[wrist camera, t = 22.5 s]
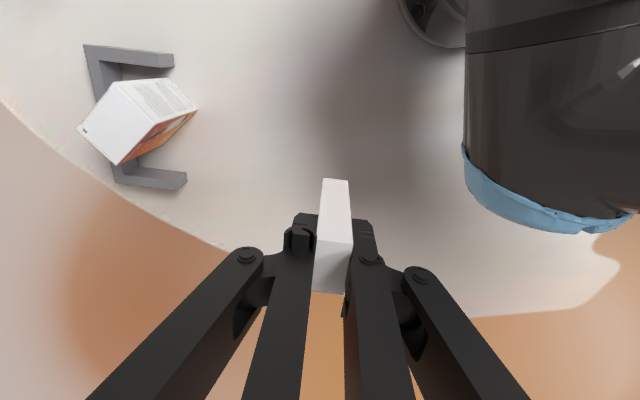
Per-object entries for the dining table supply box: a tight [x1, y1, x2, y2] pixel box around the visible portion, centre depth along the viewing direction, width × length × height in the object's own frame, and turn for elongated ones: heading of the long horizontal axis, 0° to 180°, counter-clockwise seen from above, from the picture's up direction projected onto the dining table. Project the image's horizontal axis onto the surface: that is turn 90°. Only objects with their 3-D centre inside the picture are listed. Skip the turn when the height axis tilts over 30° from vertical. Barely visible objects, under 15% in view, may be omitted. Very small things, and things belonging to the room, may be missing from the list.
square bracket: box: [83, 45, 187, 191], centre depth 39 cm, size 18×9×4 cm, turn 174°
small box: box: [75, 77, 197, 166], centre depth 35 cm, size 8×6×10 cm
